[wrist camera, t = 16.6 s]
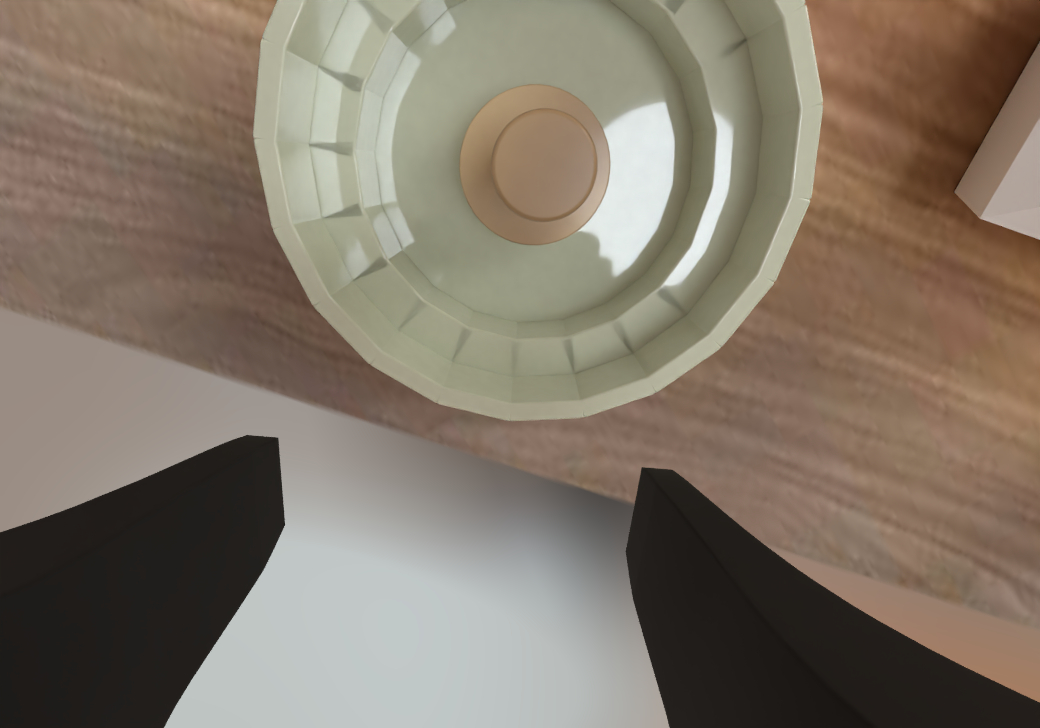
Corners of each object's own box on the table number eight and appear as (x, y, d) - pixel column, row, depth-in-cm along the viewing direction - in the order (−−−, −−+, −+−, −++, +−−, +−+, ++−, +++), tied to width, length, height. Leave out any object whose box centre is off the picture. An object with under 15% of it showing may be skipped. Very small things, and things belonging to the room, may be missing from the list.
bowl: (258, 231, 19) (171, 252, 14) (461, -204, 15) (431, -378, 10) (582, 426, 22) (598, 497, 17) (832, 101, 17) (946, 75, 13)
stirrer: (443, 189, 18) (344, 212, 8) (513, 65, 17) (497, -86, 7) (551, 260, 19) (580, 360, 9) (626, 147, 17) (757, 118, 8)
